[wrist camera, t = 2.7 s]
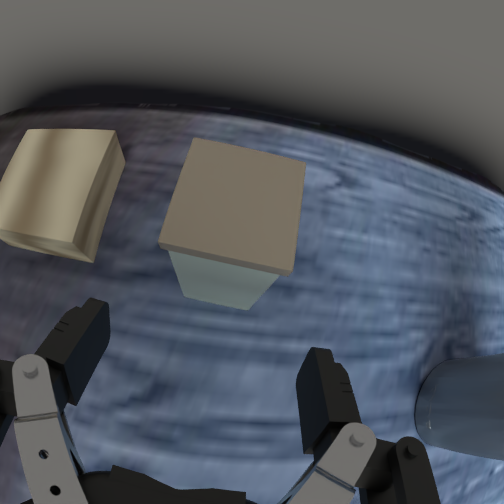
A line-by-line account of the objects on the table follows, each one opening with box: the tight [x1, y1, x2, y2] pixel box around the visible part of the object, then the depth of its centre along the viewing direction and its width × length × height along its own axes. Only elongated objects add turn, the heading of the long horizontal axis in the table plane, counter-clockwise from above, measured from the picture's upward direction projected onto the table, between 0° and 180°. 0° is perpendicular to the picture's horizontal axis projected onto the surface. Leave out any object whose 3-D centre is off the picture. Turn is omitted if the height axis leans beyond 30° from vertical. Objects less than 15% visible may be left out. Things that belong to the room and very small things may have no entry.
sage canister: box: [158, 138, 306, 311], centre depth 18 cm, size 5×5×12 cm
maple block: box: [0, 129, 126, 263], centre depth 22 cm, size 10×10×5 cm
